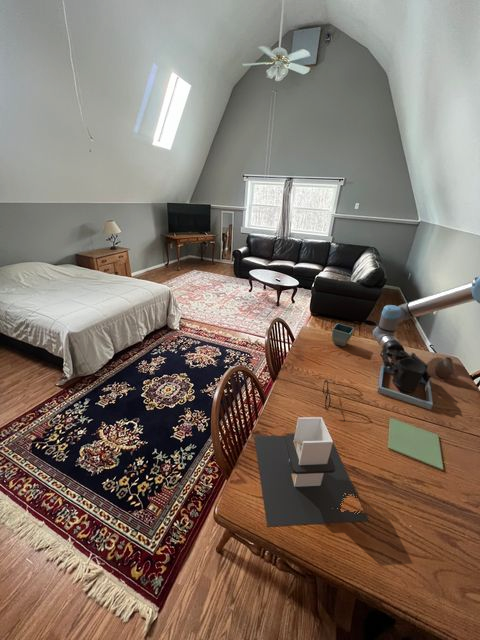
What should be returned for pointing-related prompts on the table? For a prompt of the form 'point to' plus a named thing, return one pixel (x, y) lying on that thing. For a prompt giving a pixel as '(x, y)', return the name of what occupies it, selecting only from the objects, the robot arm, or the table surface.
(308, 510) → the hopper stand
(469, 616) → the table surface
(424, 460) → the mat
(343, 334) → the flower pot
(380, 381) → the gray square frame
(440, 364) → the vase
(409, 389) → the pen holder
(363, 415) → the glasses
